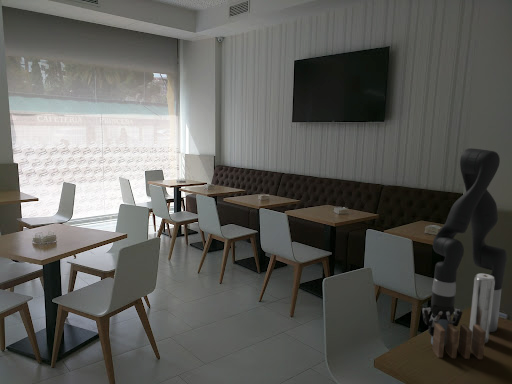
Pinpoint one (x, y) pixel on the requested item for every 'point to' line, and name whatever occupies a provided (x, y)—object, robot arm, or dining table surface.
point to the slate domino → (443, 323)
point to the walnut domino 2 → (451, 340)
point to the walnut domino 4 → (478, 341)
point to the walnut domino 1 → (438, 340)
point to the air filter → (482, 302)
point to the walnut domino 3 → (465, 341)
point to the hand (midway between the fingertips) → (439, 335)
